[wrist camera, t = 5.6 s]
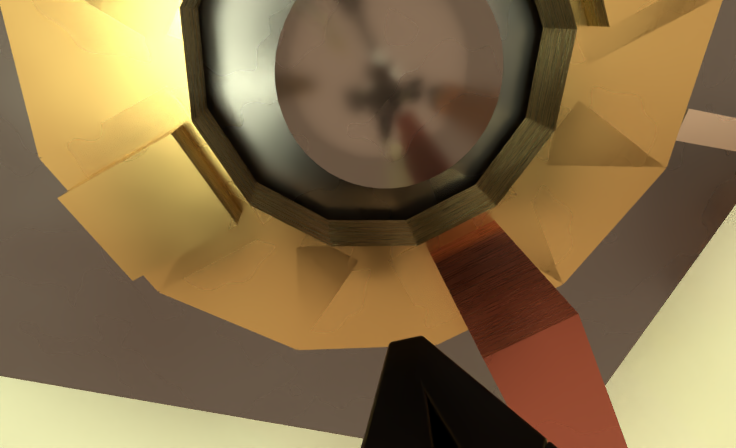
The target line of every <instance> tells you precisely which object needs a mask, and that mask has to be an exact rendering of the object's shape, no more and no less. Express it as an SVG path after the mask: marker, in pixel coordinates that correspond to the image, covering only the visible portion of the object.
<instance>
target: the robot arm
mask: <svg viewBox="0 0 736 448" xmlns="http://www.w3.org/2000/svg"><path fill="white" fill-rule="evenodd" d="M361 448H558V447H556V446H555V445H554V444H553V443H552V442H547V439H546V438H545V437H544V436H543V435H542V434H541V433H539V432H538V431H537V430H536V429H535V428H533V427H532V426H531V425H530V424H528V423H527V422H526V421H525V420H524V419H522V418H521V417H520V416H519V415H518V414H516V413H515V412H514V411H513V410H512V409H510V408H509V407H508V406H507V405H506V404H504V403H503V402H502V401H501V400H500V399H498V398H497V397H496V396H495V395H494V394H492V393H491V392H490V391H489V390H488V389H486V388H485V387H484V386H483V385H482V384H480V383H479V382H478V381H477V380H476V379H474V378H473V377H472V376H471V375H469V374H468V373H467V372H466V371H465V370H463V369H462V368H461V367H460V366H459V365H457V364H456V363H455V362H454V361H453V360H451V359H450V358H449V357H448V356H447V355H445V354H444V353H443V352H442V351H441V350H439V349H438V348H437V347H436V346H435V345H433V344H432V343H431V342H430V341H429V340H427V339H426V338H425V337H423V336H416V337H411V338H407V339H402V340H397V341H392V342H390V343H389V345H388V349H387V353H386V356H385V360H384V364H383V368H382V371H381V375H380V379H379V382H378V386H377V390H376V394H375V397H374V401H373V405H372V409H371V412H370V416H369V420H368V424H367V427H366V431H365V435H364V439H363V442H362V446H361Z"/></svg>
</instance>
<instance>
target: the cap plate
mask: <svg viewBox="0 0 736 448" xmlns="http://www.w3.org/2000/svg"><path fill="white" fill-rule="evenodd" d="M198 16H199V27H200V37H201V48H202V59H203V70H204V80H205V91H206V102H207V109H208V110H209V112H210V113H211V115H212V116H213V117H214V119H215V120H216V122H217V123H218V125H219V126H220V128H221V129H222V131H223V132H224V134H225V135H226V137H227V138H228V140H229V141H230V143H231V144H232V146H233V147H234V149H235V150H236V152H237V153H238V155H239V156H240V158H241V159H242V161H243V162H244V164H245V165H246V167H247V168H248V170H249V171H250V173H251V174H252V176H253V177H254V179H255V180H256V182H257V183H259V184H261V185H263V186H265V187H267V188H269V189H271V190H272V191H274V192H276V193H278V194H280V195H282V196H284V197H286V198H288V199H289V200H291V201H293V202H295V203H297V204H299V205H301V206H303V207H305V208H306V209H308V210H310V211H312V212H314V213H316V214H318V215H320V216H321V217H323V218H325V219H327V220H407V219H409V218H411V217H413V216H415V215H417V214H419V213H421V212H423V211H425V210H427V209H429V208H431V207H433V206H435V205H437V204H438V203H440V202H442V201H444V200H446V199H448V198H450V197H452V196H454V195H456V194H458V193H460V192H462V191H464V190H466V189H468V188H470V187H472V186H474V185H476V183H477V182H478V181H479V179H480V178H481V177H482V175H483V174H484V173H485V171H486V170H487V169H488V167H489V166H490V165H491V163H492V162H493V161H494V159H495V158H496V157H497V155H498V154H499V153H500V151H501V150H502V149H503V147H504V146H505V145H506V143H507V142H508V141H509V139H510V138H511V137H512V135H513V134H514V132H515V131H516V130H517V128H518V127H519V126H520V124H521V123H522V122H523V120H524V119H525V118H526V114H527V109H528V103H529V98H530V93H531V88H532V83H533V77H534V72H535V67H536V62H537V57H538V51H539V46H540V41H541V36H542V31H543V26H542V23H541V19H540V16H539V13H538V9H537V6H536V3H535V0H201V3H200V5H199V7H198ZM40 158H42V157H39V156H38V152H37V149H36V145H35V141H34V137H33V133H32V129H31V125H30V121H29V117H28V113H27V109H26V105H25V101H24V98H23V94H22V90H21V86H20V82H19V78H18V74H17V70H16V66H15V62H14V58H13V54H12V50H11V46H10V43H9V39H8V35H7V31H6V27H5V23H4V19H3V15H2V11H1V7H0V376H4V377H10V378H16V379H21V380H27V381H33V382H39V383H45V384H50V385H56V386H62V387H68V388H74V389H80V390H85V391H91V392H97V393H103V394H109V395H114V396H120V397H126V398H132V399H138V400H143V401H149V402H155V403H161V404H167V405H172V406H178V407H184V408H190V409H196V410H201V411H207V412H213V413H219V414H225V415H230V416H236V417H242V418H248V419H254V420H259V421H265V422H271V423H277V424H283V425H288V426H294V427H300V428H306V429H312V430H317V431H323V432H329V433H335V434H341V435H347V436H352V437H358V438H364V435H365V431H366V427H367V424H368V420H369V416H370V412H371V409H372V405H373V401H374V397H375V394H376V390H377V386H378V382H379V379H380V375H381V371H382V368H383V364H384V360H385V356H386V353H387V349H388V347H372V348H344V349H316V350H298V349H297V350H296V349H294V348H291V347H289V346H287V345H284V344H282V343H279V342H277V341H274V340H272V339H270V338H267V337H265V336H262V335H260V334H258V333H255V332H253V331H250V330H248V329H246V328H243V327H241V326H238V325H236V324H234V323H231V322H229V321H226V320H224V319H222V318H219V317H217V316H214V315H212V314H210V313H207V312H205V311H202V310H200V309H197V308H195V307H193V306H190V305H188V304H185V303H183V302H181V301H178V300H176V299H173V298H171V297H169V296H166V295H164V294H161V293H159V292H160V291H157V290H156V289H155V288H154V287H153V286H152V285H151V283H150V282H149V281H148V280H147V279H146V278H145V277H144V276H141V277H139V278H137V279H135V280H133V281H132V280H131V279H130V278H129V276H128V275H127V274H126V273H125V272H124V271H123V270H122V269H121V268H120V267H119V265H118V264H117V263H116V262H115V261H114V260H113V259H112V258H111V257H110V256H109V254H108V253H107V252H106V251H105V250H104V249H103V248H102V247H101V246H100V245H99V244H98V242H97V241H96V240H95V239H94V238H93V237H92V236H91V235H90V234H89V233H88V231H87V230H86V229H85V228H84V227H83V226H82V225H81V224H80V223H79V222H78V220H77V219H76V218H75V217H74V216H73V215H72V214H71V213H70V212H69V211H68V209H67V208H66V207H65V206H64V205H63V204H62V203H61V202H60V201H59V200H58V197H60V196H61V195H62V194H64V193H65V192H67V191H68V190H67V189H66V188H65V187H64V186H63V185H62V184H61V182H60V181H59V180H58V179H57V178H56V177H55V176H54V175H53V173H52V172H51V171H50V170H49V169H48V168H47V167H46V166H45V164H44V163H43V162H42V161H41V160H40ZM665 168H666V169H665V170H664V172H663V173H662V174H661V175H660V176H659V177H658V178H657V179H656V181H655V182H654V183H653V184H652V185H651V186H650V187H649V188H648V190H647V191H646V192H645V193H644V194H643V195H642V196H641V197H640V199H639V200H638V201H637V202H636V203H635V204H634V205H633V206H632V208H631V209H630V210H629V211H628V212H627V213H626V214H625V215H624V217H623V218H622V219H621V220H620V221H619V222H618V223H617V224H616V226H615V227H614V228H613V229H612V230H611V231H610V232H609V233H608V235H607V236H606V237H605V238H604V239H603V240H602V241H601V242H600V244H599V245H598V246H597V247H596V248H595V249H594V250H593V251H592V253H591V254H590V255H589V256H588V257H587V258H586V259H585V260H584V262H583V263H582V264H581V265H580V266H579V267H578V268H577V269H576V271H575V272H574V273H573V274H572V275H571V276H570V277H569V278H568V280H567V281H566V282H565V283H564V284H563V283H562V284H563V285H561V286H559V287H557V288H556V289H557V290H558V291H559V293H560V294H561V295H562V296H563V297H564V298H565V299H566V300H567V301H568V303H569V304H570V305H571V306H572V307H573V308H574V309H575V310H576V311H577V313H578V314H579V316H580V319H581V322H582V325H583V327H584V330H585V333H586V335H587V338H588V341H589V344H590V346H591V349H592V352H593V355H594V357H595V360H596V363H597V366H598V368H599V371H600V374H601V376H602V379H603V382H604V385H606V383H607V382H608V381H609V379H610V378H611V376H612V375H613V374H614V372H615V371H616V369H617V368H618V367H619V365H620V364H621V363H622V361H623V360H624V358H625V357H626V356H627V354H628V353H629V351H630V350H631V349H632V347H633V346H634V345H635V343H636V342H637V340H638V339H639V338H640V336H641V335H642V333H643V332H644V331H645V329H646V328H647V326H648V325H649V324H650V322H651V321H652V320H653V318H654V317H655V315H656V314H657V313H658V311H659V310H660V308H661V307H662V306H663V304H664V303H665V302H666V300H667V299H668V297H669V296H670V295H671V293H672V292H673V290H674V289H675V288H676V286H677V285H678V283H679V282H680V281H681V279H682V278H683V277H684V275H685V274H686V272H687V271H688V270H689V268H690V267H691V265H692V264H693V263H694V261H695V260H696V259H697V257H698V256H699V254H700V253H701V252H702V250H703V249H704V247H705V246H706V245H707V243H708V242H709V240H710V239H711V238H712V236H713V235H714V234H715V232H716V231H717V229H718V228H719V227H720V225H721V224H722V222H723V221H724V220H725V218H726V217H727V216H728V214H729V213H730V211H731V210H732V209H733V207H734V206H735V204H736V0H723V1H722V4H721V7H720V10H719V13H718V16H717V19H716V22H715V25H714V28H713V31H712V34H711V37H710V40H709V43H708V46H707V49H706V52H705V55H704V58H703V61H702V64H701V67H700V70H699V73H698V76H697V79H696V82H695V85H694V88H693V91H692V94H691V97H690V100H689V103H688V106H687V109H686V112H685V115H684V118H683V121H682V123H681V126H680V129H679V132H678V135H677V138H676V141H675V144H674V147H673V150H672V153H671V156H670V159H669V162H668V165H667V167H665ZM435 346H436V347H437V348H438V349H439V350H441V351H442V352H443V353H444V354H445V355H447V356H448V357H449V358H450V359H451V360H453V361H454V362H455V363H456V364H457V365H459V366H460V367H461V368H462V369H463V370H465V371H466V372H467V373H468V374H469V375H471V376H472V377H473V378H474V379H476V380H477V381H478V382H479V383H480V384H482V385H483V386H484V387H485V388H486V389H488V390H489V391H490V392H491V393H492V394H494V395H495V396H496V397H497V398H498V399H500V400H501V401H502V402H503V403H504V404H506V402H505V400H504V398H503V396H502V394H501V392H500V390H499V388H498V386H497V384H496V383H495V381H494V379H493V377H492V375H491V373H490V371H489V369H488V367H487V365H486V363H485V361H484V360H483V358H482V356H481V354H480V352H479V350H478V348H477V346H476V344H475V342H474V340H473V338H472V336H471V334H470V332H469V330H467V331H465V332H463V333H461V334H459V335H457V336H454V337H452V338H450V339H448V340H446V341H444V342H442V343H440V344H438V345H437V344H436V345H435ZM506 405H507V404H506Z"/></svg>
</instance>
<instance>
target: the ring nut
mask: <svg viewBox="0 0 736 448" xmlns="http://www.w3.org/2000/svg"><path fill="white" fill-rule="evenodd" d="M722 1H723V0H535V3H536V6H537V9H538V13H539V16H540V19H541V23H542V26H543V31H542V36H541V41H540V46H539V51H538V57H537V62H536V67H535V72H534V77H533V83H532V88H531V93H530V98H529V103H528V109H527V114H526V118H525V119H524V120H523V122H522V123H521V124H520V126H519V127H518V128H517V130H516V131H515V132H514V134H513V135H512V137H511V138H510V139H509V141H508V142H507V143H506V145H505V146H504V147H503V149H502V150H501V151H500V153H499V154H498V155H497V157H496V158H495V159H494V161H493V162H492V163H491V165H490V166H489V167H488V169H487V170H486V171H485V173H484V174H483V175H482V177H481V178H480V179H479V181H478V182H477V183H476V185H474V186H472V187H470V188H468V189H466V190H464V191H462V192H460V193H458V194H456V195H454V196H452V197H450V198H448V199H446V200H444V201H442V202H440V203H438V204H437V205H435V206H433V207H431V208H429V209H427V210H425V211H423V212H421V213H419V214H417V215H415V216H413V217H411V218H409V219H407V220H327V219H325V218H323V217H321V216H320V215H318V214H316V213H314V212H312V211H310V210H308V209H306V208H305V207H303V206H301V205H299V204H297V203H295V202H293V201H291V200H289V199H288V198H286V197H284V196H282V195H280V194H278V193H276V192H274V191H272V190H271V189H269V188H267V187H265V186H263V185H261V184H259V183H257V182H256V180H255V179H254V177H253V176H252V174H251V173H250V171H249V170H248V168H247V167H246V165H245V164H244V162H243V161H242V159H241V158H240V156H239V155H238V153H237V152H236V150H235V149H234V147H233V146H232V144H231V143H230V141H229V140H228V138H227V137H226V135H225V134H224V132H223V131H222V129H221V128H220V126H219V125H218V123H217V122H216V120H215V119H214V117H213V116H212V115H211V113H210V112H209V110H208V109H207V102H206V91H205V80H204V70H203V59H202V48H201V37H200V27H199V16H198V7H199V5H200V3H201V0H0V7H1V11H2V15H3V19H4V23H5V27H6V31H7V35H8V39H9V43H10V46H11V50H12V54H13V58H14V62H15V66H16V70H17V74H18V78H19V82H20V86H21V90H22V94H23V98H24V101H25V105H26V109H27V113H28V117H29V121H30V125H31V129H32V133H33V137H34V141H35V145H36V149H37V152H38V156H39V157H42V158H40V160H41V161H42V162H43V163H44V164H45V166H46V167H47V168H48V169H49V170H50V171H51V172H52V173H53V175H54V176H55V177H56V178H57V179H58V180H59V181H60V182H61V184H62V185H63V186H64V187H65V188H66V189H67V190H68V191H67V192H65V193H64V194H62V195H61V196H60V197H58V200H59V201H60V202H61V203H62V204H63V205H64V206H65V207H66V208H67V209H68V211H69V212H70V213H71V214H72V215H73V216H74V217H75V218H76V219H77V220H78V222H79V223H80V224H81V225H82V226H83V227H84V228H85V229H86V230H87V231H88V233H89V234H90V235H91V236H92V237H93V238H94V239H95V240H96V241H97V242H98V244H99V245H100V246H101V247H102V248H103V249H104V250H105V251H106V252H107V253H108V254H109V256H110V257H111V258H112V259H113V260H114V261H115V262H116V263H117V264H118V265H119V267H120V268H121V269H122V270H123V271H124V272H125V273H126V274H127V275H128V276H129V278H130V279H131V280H132V281H133V280H135V279H137V278H139V277H141V276H144V277H145V278H146V279H147V280H148V281H149V282H150V283H151V285H152V286H153V287H154V288H155V289H156V290H157V291H160V292H159V293H161V294H164V295H166V296H169V297H171V298H173V299H176V300H178V301H181V302H183V303H185V304H188V305H190V306H193V307H195V308H197V309H200V310H202V311H205V312H207V313H210V314H212V315H214V316H217V317H219V318H222V319H224V320H226V321H229V322H231V323H234V324H236V325H238V326H241V327H243V328H246V329H248V330H250V331H253V332H255V333H258V334H260V335H262V336H265V337H267V338H270V339H272V340H274V341H277V342H279V343H282V344H284V345H287V346H289V347H291V348H294V349H296V350H297V349H298V350H316V349H344V348H372V347H388V345H389V343H390V342H392V341H397V340H402V339H407V338H411V337H416V336H423V337H425V338H426V339H427V340H429V341H430V342H431V343H432V344H433V345H436V344H437V345H438V344H440V343H442V342H444V341H446V340H448V339H450V338H452V337H454V336H457V335H459V334H461V333H463V332H465V331H467V330H469V332H470V334H471V336H472V338H473V340H474V342H475V344H476V346H477V348H478V350H479V352H480V354H481V356H482V358H483V360H484V361H485V363H486V365H487V367H488V369H489V371H490V373H491V375H492V377H493V379H494V381H495V383H496V384H497V386H498V388H499V390H500V392H501V394H502V396H503V398H504V400H505V402H506V404H507V406H508V407H509V408H510V409H512V410H513V411H514V412H515V413H516V414H518V415H519V416H520V417H521V418H522V419H524V420H525V421H526V422H527V423H528V424H530V425H531V426H532V427H533V428H535V429H536V430H537V431H538V432H539V433H541V434H542V435H543V436H544V437H545V438H546V439H547V442H552V443H553V444H554V445H555V446H556V447H558V448H628V447H627V445H626V442H625V439H624V437H623V434H622V431H621V428H620V426H619V423H618V420H617V417H616V415H615V412H614V409H613V407H612V404H611V401H610V398H609V396H608V393H607V390H606V387H605V385H604V382H603V379H602V376H601V374H600V371H599V368H598V366H597V363H596V360H595V357H594V355H593V352H592V349H591V346H590V344H589V341H588V338H587V335H586V333H585V330H584V327H583V325H582V322H581V319H580V316H579V314H578V313H577V311H576V310H575V309H574V308H573V307H572V306H571V305H570V304H569V303H568V301H567V300H566V299H565V298H564V297H563V296H562V295H561V294H560V293H559V291H558V290H557V289H556V288H557V287H559V286H561V285H563V284H564V283H565V282H566V281H567V280H568V278H569V277H570V276H571V275H572V274H573V273H574V272H575V271H576V269H577V268H578V267H579V266H580V265H581V264H582V263H583V262H584V260H585V259H586V258H587V257H588V256H589V255H590V254H591V253H592V251H593V250H594V249H595V248H596V247H597V246H598V245H599V244H600V242H601V241H602V240H603V239H604V238H605V237H606V236H607V235H608V233H609V232H610V231H611V230H612V229H613V228H614V227H615V226H616V224H617V223H618V222H619V221H620V220H621V219H622V218H623V217H624V215H625V214H626V213H627V212H628V211H629V210H630V209H631V208H632V206H633V205H634V204H635V203H636V202H637V201H638V200H639V199H640V197H641V196H642V195H643V194H644V193H645V192H646V191H647V190H648V188H649V187H650V186H651V185H652V184H653V183H654V182H655V181H656V179H657V178H658V177H659V176H660V175H661V174H662V173H663V172H664V170H665V169H666V168H665V167H667V165H668V162H669V159H670V156H671V153H672V150H673V147H674V144H675V141H676V138H677V135H678V132H679V129H680V126H681V123H682V121H683V118H684V115H685V112H686V109H687V106H688V103H689V100H690V97H691V94H692V91H693V88H694V85H695V82H696V79H697V76H698V73H699V70H700V67H701V64H702V61H703V58H704V55H705V52H706V49H707V46H708V43H709V40H710V37H711V34H712V31H713V28H714V25H715V22H716V19H717V16H718V13H719V10H720V7H721V4H722ZM562 283H563V284H562Z"/></svg>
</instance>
